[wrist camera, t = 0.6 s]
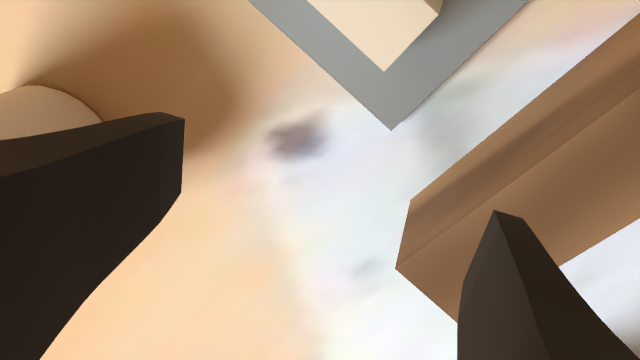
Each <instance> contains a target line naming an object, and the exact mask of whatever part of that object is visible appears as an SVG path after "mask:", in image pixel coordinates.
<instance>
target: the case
mask: <svg viewBox="0 0 640 360" xmlns="http://www.w3.org/2000/svg"><path fill="white" fill-rule="evenodd" d="M493 210H496V211H500V212H503V213H507V214H510V215H514V216H517V217H520V218H523V219H524V220H525V222H526V223H527V224H528V226H529V227H530V228H531V230H532V231H533V232H534V234H535V235H536V237H537V238H538V239H539V241H540V242H541V244H542V245H543V247H544V248H545V249H546V251H547V252H548V254H549V255H550V256H551V258H552V259H553V261H554V262H555V263H556V265H557V266H558V267H559V266H561V265H562V264H564V263H566V262H567V261H569V260H571V259H572V258H574V257H576V256H577V255H579V254H581V253H582V252H584V251H586V250H587V249H589V248H591V247H592V246H594V245H596V244H597V243H599V242H601V241H602V240H604V239H606V238H607V237H609V236H611V235H612V234H614V233H616V232H617V231H619V230H621V229H622V228H624V227H626V226H627V225H629V224H631V223H632V222H634V221H636V220H637V219H639V218H640V13H639V14H638V15H637V16H635V17H634V18H633V19H632V20H631V21H629V22H628V23H627V24H626V25H624V26H623V27H622V28H621V29H620V30H618V31H617V32H616V33H615V34H613V35H612V36H611V37H610V38H609V39H607V40H606V41H605V42H604V43H602V44H601V45H600V46H599V47H597V48H596V49H595V50H594V51H593V52H591V53H590V54H589V55H588V56H586V57H585V58H584V59H583V60H582V61H580V62H579V63H578V64H577V65H575V66H574V67H573V68H572V69H571V70H569V71H568V72H567V73H566V74H564V75H563V76H562V77H561V78H560V79H558V80H557V81H556V82H555V83H553V84H552V85H551V86H550V87H549V88H547V89H546V90H545V91H544V92H542V93H541V94H540V95H539V96H537V97H536V98H535V99H534V100H533V101H531V102H530V103H529V104H528V105H526V106H525V107H524V108H523V109H522V110H520V111H519V112H518V113H517V114H515V115H514V116H513V117H512V118H511V119H509V120H508V121H507V122H506V123H504V124H503V125H502V126H501V127H500V128H498V129H497V130H496V131H495V132H493V133H492V134H491V135H490V136H488V137H487V138H486V139H485V140H484V141H482V142H481V143H480V144H479V145H477V146H476V147H475V148H474V149H473V150H471V151H470V152H469V153H468V154H466V155H465V156H464V157H463V158H462V159H460V160H459V161H458V162H457V163H455V164H454V165H453V166H452V167H451V168H449V169H448V170H447V171H446V172H444V173H443V174H442V175H441V176H439V177H438V178H437V179H436V180H435V181H433V182H432V183H431V184H430V185H428V186H427V187H426V188H425V189H424V190H422V191H421V192H420V193H419V194H417V195H416V196H415V197H414V198H413V199H411V200H410V205H409V209H408V214H407V218H406V223H405V227H404V232H403V236H402V240H401V245H400V249H399V254H398V258H397V263H396V267H395V269H396V270H397V271H399V272H400V273H401V274H402V275H403V276H404V277H405V278H407V279H408V280H409V281H410V282H411V283H412V284H413V285H415V286H416V287H417V288H418V289H419V290H420V291H421V292H423V293H424V294H425V295H426V296H427V297H428V298H429V299H431V300H432V301H433V302H434V303H435V304H436V305H437V306H439V307H440V308H441V309H442V310H443V311H444V312H445V313H447V314H448V315H449V316H450V317H451V318H452V319H453V320H455V321H456V322H457V323H458V313H459V306H460V299H461V292H462V285H463V281H464V278H465V276H466V273H467V271H468V269H469V266H470V264H471V262H472V259H473V257H474V255H475V252H476V250H477V248H478V245H479V243H480V241H481V238H482V236H483V234H484V231H485V229H486V227H487V224H488V222H489V220H490V217H491V215H492V212H493Z"/></svg>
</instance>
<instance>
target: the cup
mask: <svg viewBox="0 0 640 360" xmlns="http://www.w3.org/2000/svg"><path fill="white" fill-rule="evenodd" d="M97 123H102V120H101V119H100V118H99V117H98V115H97V114H96V113H94V112H93V111H92V110H91V109H90V108H89V107H87V106H86V105H85V104H84V103H83V102H82V101H80V100H78V99H76V98H74V97H73V96H71V95H69V94H67V93H65V92H62V91H59V90H56V89H52V88H49V87H45V86H23V87H20V88H16V89H13V90H10V91H8V92H5V93H2V94H0V140H5V139H13V138H21V137H27V136H34V135H40V134H45V133H51V132H56V131H62V130H67V129H73V128H78V127H83V126H88V125H92V124H97Z"/></svg>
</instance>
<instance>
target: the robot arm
mask: <svg viewBox="0 0 640 360" xmlns="http://www.w3.org/2000/svg"><path fill="white" fill-rule="evenodd" d="M184 123H185V119H183V118H179V117H176V116H173V115H169V114H166V113H162V112H156V113H147V114H141V115H135V116H130V117H125V118H120V119H116V120H111V121H106V122H102V123H97V124H92V125H88V126H83V127H78V128H73V129H67V130H62V131H56V132H51V133H45V134H40V135H34V136H27V137H21V138H13V139H5V140H0V360H40V358H41V357H42V356H43V354H44V353H45V351H46V350H47V349H48V347H49V346H50V345H51V343H52V342H53V341H54V339H55V338H56V337H57V335H58V334H59V333H60V331H61V330H62V329H63V328H64V326H65V325H66V324H67V322H68V321H69V320H70V319H71V317H72V316H73V315H74V314H75V312H76V311H77V310H78V309H79V307H80V306H81V305H82V303H83V302H84V301H85V300H86V299H87V298H88V296H89V295H90V294H91V293H92V292H93V291H94V290H95V289H96V288H97V286H98V285H99V284H100V283H101V282H102V281H103V280H104V279H105V278H106V277H107V276H108V275H109V274H110V273H111V272H112V271H113V270H114V269H115V268H116V267H117V266H118V265H119V264H120V263H121V262H122V261H123V260H124V259H125V258H126V257H127V256H128V255H129V254H130V253H131V252H132V251H133V250H134V249H135V248H136V247H137V246H138V245H139V244H140V243H141V242H142V241H143V240H144V239H145V238H146V237H147V236H148V235H149V234H150V233H151V231H152V230H153V229H154V228H155V227H156V226H157V225H158V224H159V223H160V222H161V220H162V219H163V218H164V216H165V215H166V214H167V212H168V211H169V210H170V208H171V207H172V205H173V204H174V202H175V201H176V199H177V198H178V196H179V195H180V193H181V184H182V164H183V143H184ZM457 360H640V359H639V358H638V357H637V356H636V355H635V354H634V353H633V352H632V351H631V350H630V349H629V348H628V347H627V346H626V345H625V344H624V343H623V342H622V341H621V340H620V339H619V338H618V337H617V336H616V335H615V334H614V333H613V332H612V331H611V330H610V329H609V328H608V327H607V326H606V324H605V323H604V322H603V321H602V320H601V319H600V318H599V317H598V316H597V315H596V313H595V312H594V311H593V310H592V309H591V307H590V306H589V305H588V304H587V303H586V302H585V300H584V299H583V298H582V297H581V296H580V295H579V293H578V292H577V291H576V289H575V288H574V287H573V286H572V284H571V283H570V282H569V281H568V279H567V278H566V277H565V275H564V274H563V273H562V271H561V270H560V269H559V267H558V266H557V265H556V263H555V262H554V261H553V259H552V258H551V256H550V255H549V254H548V252H547V251H546V249H545V248H544V247H543V245H542V244H541V242H540V241H539V239H538V238H537V237H536V235H535V234H534V232H533V231H532V230H531V228H530V227H529V226H528V224H527V223H526V222H525V220H524V219H523V218H520V217H517V216H514V215H510V214H507V213H503V212H500V211H496V210H493V212H492V215H491V217H490V220H489V222H488V224H487V227H486V229H485V231H484V234H483V236H482V238H481V241H480V243H479V245H478V248H477V250H476V252H475V255H474V257H473V259H472V262H471V264H470V266H469V269H468V271H467V273H466V276H465V278H464V281H463V285H462V292H461V299H460V306H459V313H458V328H457Z"/></svg>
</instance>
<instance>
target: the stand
mask: <svg viewBox="0 0 640 360" xmlns="http://www.w3.org/2000/svg"><path fill="white" fill-rule="evenodd" d="M248 1H249V2H250V3H251V4H252V5H253V6H255V7H256V8H257V9H258V10H259V11H260V12H261V13H262V14H263V15H264V16H266V17H267V18H268V19H269V20H270V21H271V22H272V23H273V24H274V25H275V26H276V27H278V28H279V29H280V30H281V31H282V32H283V33H284V34H285V35H286V36H287V37H289V38H290V39H291V40H292V41H293V42H294V43H295V44H296V45H297V46H298V47H300V48H301V49H302V50H303V51H304V52H305V53H306V54H307V55H308V56H309V57H311V58H312V59H313V60H314V61H315V62H316V63H317V64H318V65H319V66H320V67H322V68H323V69H324V70H325V71H326V72H327V73H328V74H329V75H330V76H331V77H333V78H334V79H335V80H336V81H337V82H338V83H339V84H340V85H341V86H342V87H343V88H345V89H346V90H347V91H348V92H349V93H350V94H351V95H352V96H353V97H354V98H356V99H357V100H358V101H359V102H360V103H361V104H362V105H363V106H364V107H365V108H367V109H368V110H369V111H370V112H371V113H372V114H373V115H374V116H375V117H376V118H378V119H379V120H380V121H381V122H382V123H383V124H384V125H385V126H386V127H387V128H389V129H390V130H391V131H392V130H393V129H394V128H395V127H396V126H397V125H398V124H399V123H400V122H401V121H402V120H403V119H404V118H405V117H406V116H408V115H409V114H410V113H411V112H412V111H413V110H414V109H415V108H416V107H417V106H418V105H419V104H420V103H421V102H422V101H423V100H424V99H425V98H426V97H428V96H429V95H430V94H431V93H432V92H433V91H434V90H435V89H436V88H437V87H438V86H439V85H440V84H441V83H442V82H443V81H444V80H445V79H446V78H448V77H449V76H450V75H451V74H452V73H453V72H454V71H455V70H456V69H457V68H458V67H459V66H460V65H461V64H462V63H463V62H464V61H465V60H466V59H468V58H469V57H470V56H471V55H472V54H473V53H474V52H475V51H476V50H477V49H478V48H479V47H480V46H481V45H482V44H483V43H484V42H485V41H486V40H488V39H489V38H490V37H491V36H492V35H493V34H494V33H495V32H496V31H497V30H498V29H499V28H500V27H501V26H502V25H503V24H504V23H505V22H506V21H508V20H509V19H510V18H511V17H512V16H513V15H514V14H515V13H516V12H517V11H518V10H519V9H520V8H521V7H522V6H523V5H524V4H525V3H526V2H527V1H529V0H248Z"/></svg>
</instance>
